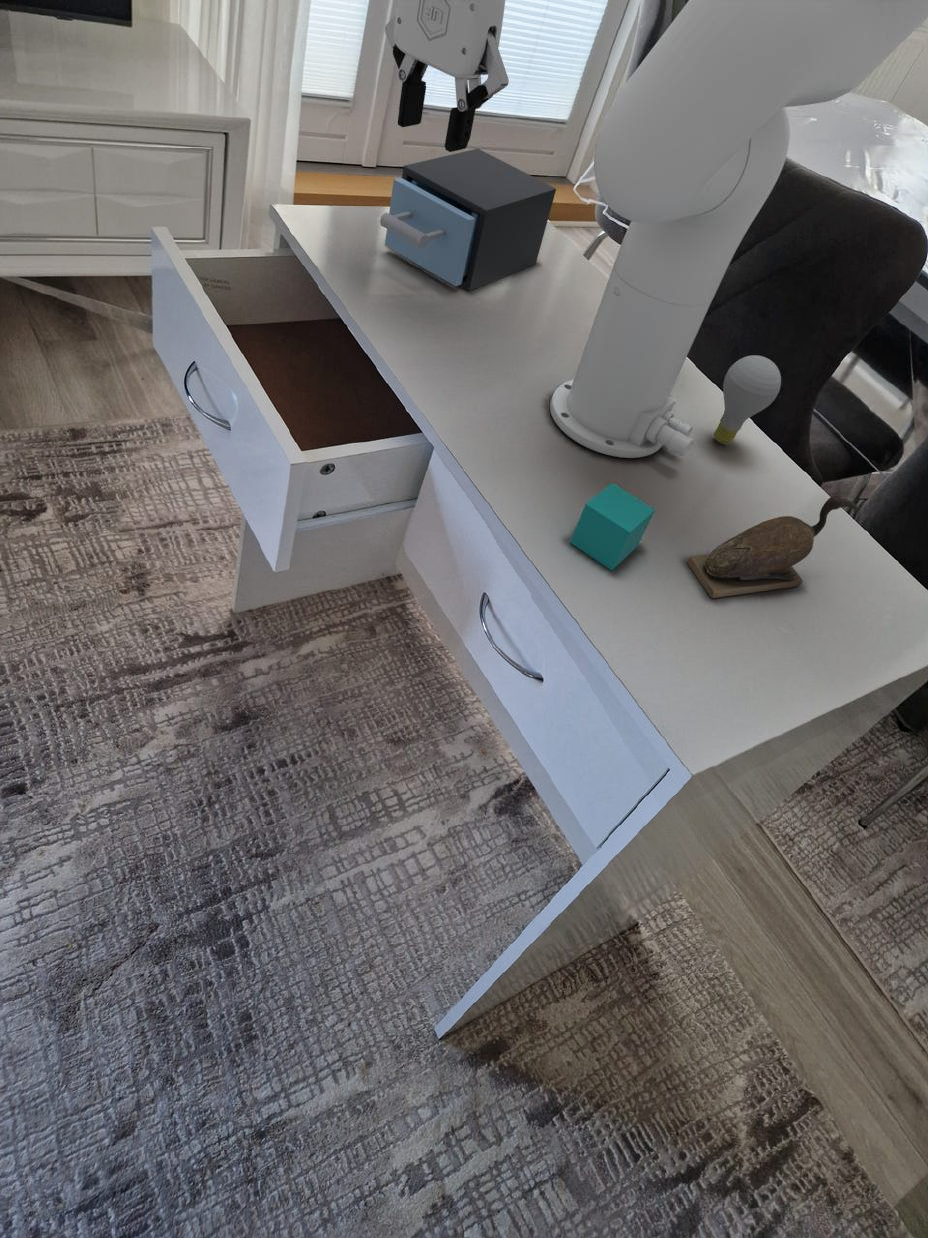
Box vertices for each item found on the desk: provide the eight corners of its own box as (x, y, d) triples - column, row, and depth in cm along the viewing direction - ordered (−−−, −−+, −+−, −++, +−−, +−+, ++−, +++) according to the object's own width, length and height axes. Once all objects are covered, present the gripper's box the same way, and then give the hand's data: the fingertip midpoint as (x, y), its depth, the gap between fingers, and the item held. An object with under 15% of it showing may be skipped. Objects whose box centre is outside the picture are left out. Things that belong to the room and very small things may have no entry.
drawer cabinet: (468, 291, 98) (486, 210, 91) (391, 246, 102) (403, 165, 95) (535, 264, 107) (556, 188, 100) (462, 223, 111) (477, 147, 104)
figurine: (805, 548, 78) (856, 477, 71) (833, 582, 75) (888, 511, 69) (685, 562, 72) (728, 487, 66) (711, 599, 70) (758, 524, 64)
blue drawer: (430, 296, 93) (442, 228, 88) (357, 253, 97) (365, 185, 91) (519, 261, 105) (536, 198, 99) (452, 223, 108) (464, 161, 102)
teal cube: (636, 547, 72) (655, 509, 69) (611, 571, 70) (630, 532, 66) (595, 520, 74) (612, 482, 70) (569, 542, 71) (585, 503, 68)
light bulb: (719, 462, 84) (764, 378, 77) (686, 430, 87) (727, 347, 80) (755, 453, 87) (802, 371, 80) (721, 423, 90) (764, 341, 82)
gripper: (368, -112, 74) (348, 109, 87) (518, -50, 69) (472, 175, 82) (421, -107, 78) (395, 102, 91) (565, -49, 73) (515, 164, 86)
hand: (432, 134), depth 86 cm, fingers open, 5 cm apart
